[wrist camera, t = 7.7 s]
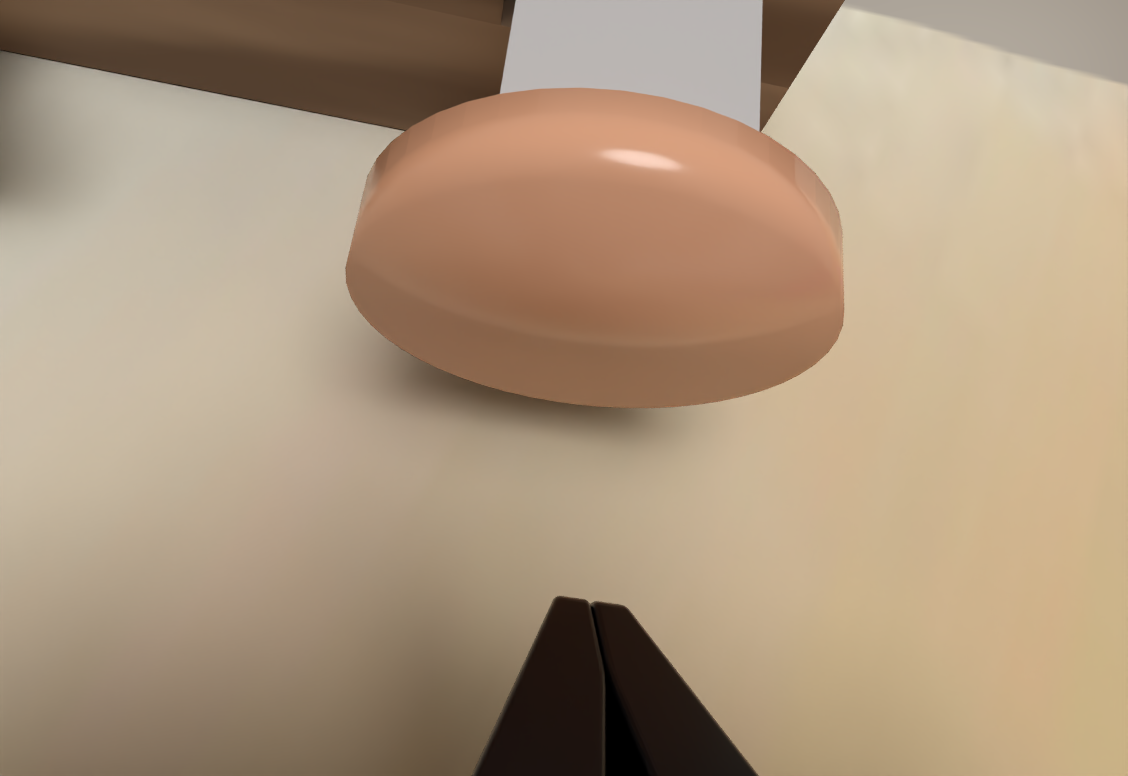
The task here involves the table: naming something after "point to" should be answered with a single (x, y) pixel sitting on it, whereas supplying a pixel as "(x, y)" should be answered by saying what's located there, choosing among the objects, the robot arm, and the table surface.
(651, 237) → the terracotta plunger
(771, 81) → the panel
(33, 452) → the table surface
